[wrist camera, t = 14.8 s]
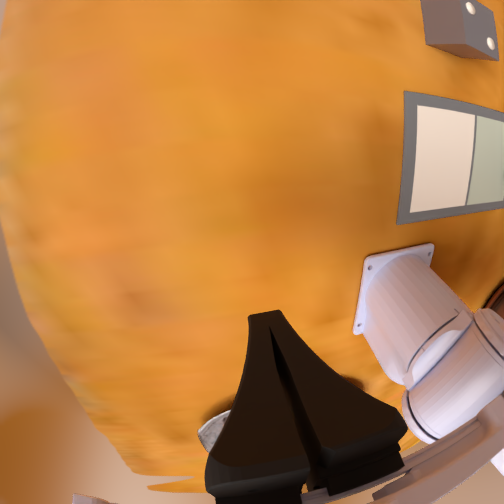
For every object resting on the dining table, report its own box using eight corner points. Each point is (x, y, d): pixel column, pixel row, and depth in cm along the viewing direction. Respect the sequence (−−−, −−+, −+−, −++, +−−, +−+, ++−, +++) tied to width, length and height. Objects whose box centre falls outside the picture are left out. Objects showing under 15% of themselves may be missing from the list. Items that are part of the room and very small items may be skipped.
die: (460, 57, 15) (499, 61, 11) (425, 44, 14) (466, 44, 10) (455, 13, 12) (493, 11, 9) (419, -3, 12) (458, -11, 8)
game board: (529, 203, 24) (530, 204, 24) (396, 224, 22) (397, 225, 22) (540, 126, 18) (541, 126, 18) (403, 91, 16) (405, 91, 16)
